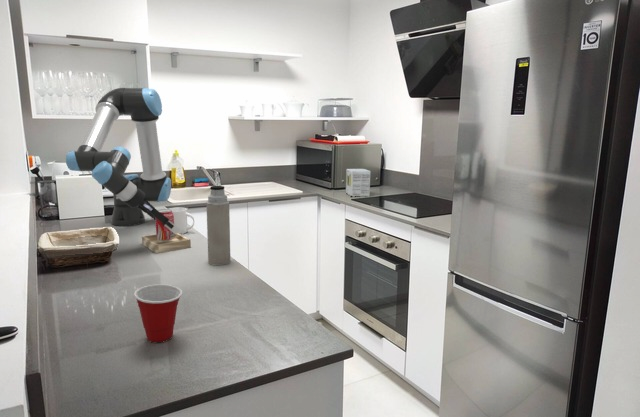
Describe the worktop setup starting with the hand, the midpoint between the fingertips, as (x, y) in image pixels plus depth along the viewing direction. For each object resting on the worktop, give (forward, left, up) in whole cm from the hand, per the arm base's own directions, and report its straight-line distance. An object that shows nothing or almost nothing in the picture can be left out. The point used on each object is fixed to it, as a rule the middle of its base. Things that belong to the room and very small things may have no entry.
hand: (173, 229), depth 187 cm
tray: (0, -4, -6) cm, 7 cm away
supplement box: (-42, +144, -6) cm, 151 cm away
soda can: (0, -4, -4) cm, 5 cm away
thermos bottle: (+31, +4, -6) cm, 32 cm away
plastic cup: (+75, -34, -6) cm, 82 cm away
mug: (-16, +10, -6) cm, 20 cm away
